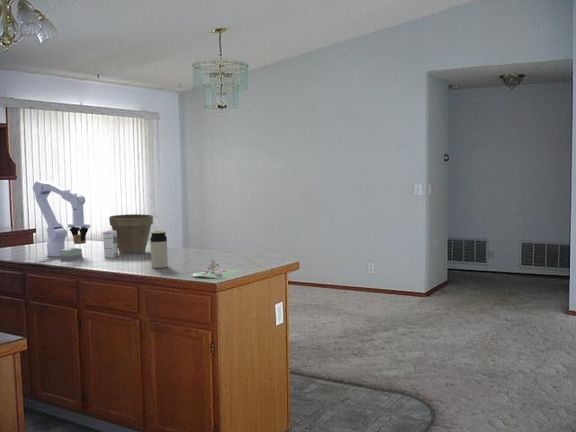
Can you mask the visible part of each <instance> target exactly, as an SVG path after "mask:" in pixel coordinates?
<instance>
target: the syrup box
mask: <svg viewBox="0 0 576 432" xmlns="http://www.w3.org/2000/svg"><path fill="white" fill-rule="evenodd" d="M102 236H103V237H102V238H103V239H102V240H103V255H104V257H105V258H114V257H117V256H119V250H118V243H117V231H115V230H106V231H105V230H104V231H103V232H102Z"/></svg>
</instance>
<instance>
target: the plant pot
mask: <svg viewBox="0 0 576 432" xmlns="http://www.w3.org/2000/svg"><path fill="white" fill-rule="evenodd" d="M108 220H109V225H110V226H111V229H112V230H115V231H117V243H118V254H120V255H137V254H138V255H139V254H143V253H146V249H147V245H148V241H149V235H150V233H151V227H152V225H153V222H154V216H153V215H152V214H140V213H139V214H137V213H135V214H133V213H132V214H131V213H130V214H117V215H110V216H109V219H108Z"/></svg>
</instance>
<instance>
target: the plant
mask: <svg viewBox="0 0 576 432" xmlns="http://www.w3.org/2000/svg"><path fill="white" fill-rule="evenodd" d="M210 262H211V264H209V267H208V268H207V269H208V270H207V269H204V270H203V271H201V272H194V273H192V276H191V277H194V278H205V279H225V278H230V277H232V276H235V275H237V274H238V273H237V272H239V270H240V269H224V268H222V269H219V270H215V269H216V268H217V267H220V265H219V263H216V261H215V260H214V257H212V259H210ZM215 263H216V264H215ZM239 273H240V272H239Z"/></svg>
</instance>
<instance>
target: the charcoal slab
mask: <svg viewBox="0 0 576 432" xmlns="http://www.w3.org/2000/svg"><path fill="white" fill-rule="evenodd" d="M59 257H60V261H71V262H72V261H78V260H82V259H83V253H82V254H80V255H74V256H64V255H60V256H59Z"/></svg>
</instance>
